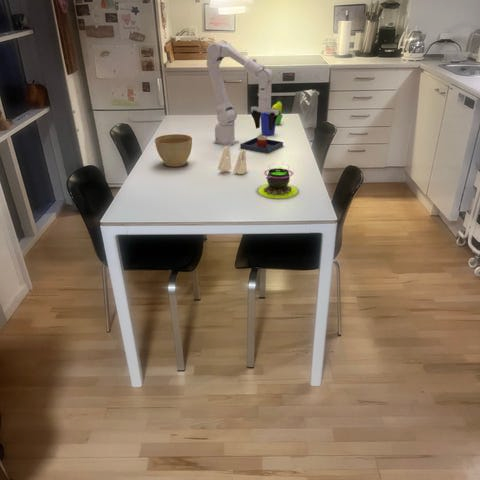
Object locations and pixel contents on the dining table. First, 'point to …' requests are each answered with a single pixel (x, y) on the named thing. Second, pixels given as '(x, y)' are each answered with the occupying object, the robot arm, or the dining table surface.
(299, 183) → the dining table surface
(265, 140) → the tin can
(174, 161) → the planter bowl
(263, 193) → the toy cauldron
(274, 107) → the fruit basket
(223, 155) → the shaker set
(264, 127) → the mug
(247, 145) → the tray
